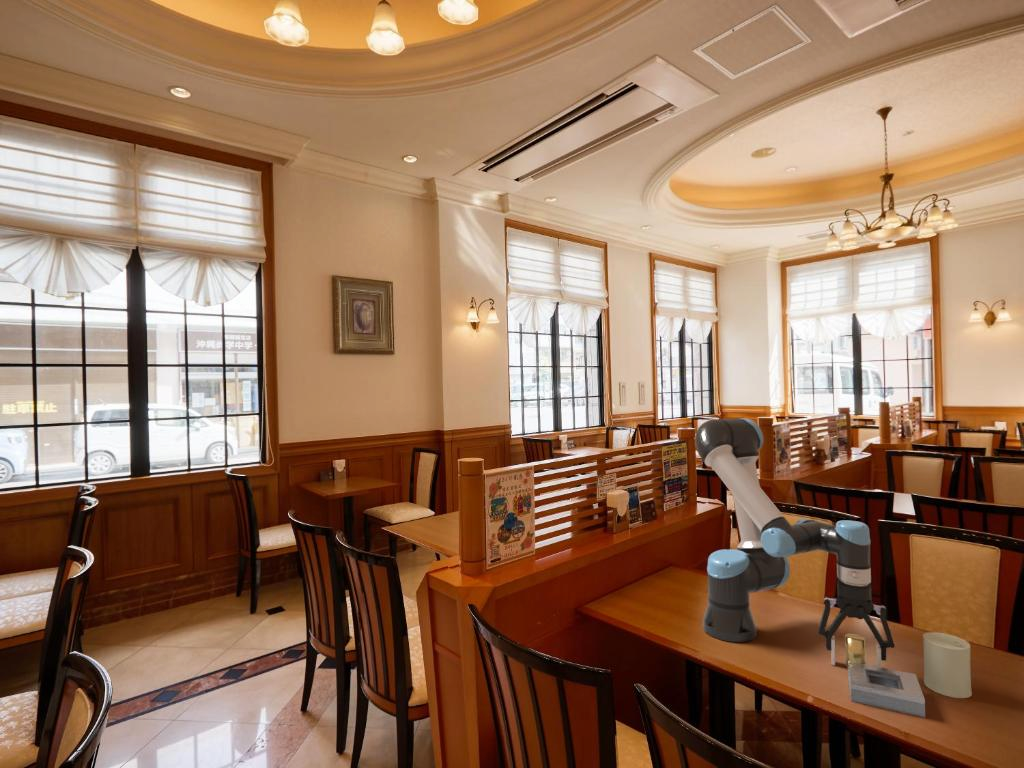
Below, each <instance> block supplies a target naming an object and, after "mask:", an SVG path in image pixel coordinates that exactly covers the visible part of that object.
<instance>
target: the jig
mask: <svg viewBox="0 0 1024 768" xmlns="http://www.w3.org/2000/svg"><path fill="white" fill-rule="evenodd" d="M847 678H848V686H849V693H850V695H849V696H850V701H851V702H855V703H858V704H863V705H867V706H872V707H877V708H880V709H881V708H882V709H885V710H890V711H893V712H894V711H895V712H899V713H902V714H907V715H912V716H916V717H920V718H925V719H926V700H925V699H926V698H925V696H924V693H923V691H922V688H921V685H920V683H919V680H918V677H917V674H915V673H911V672H906V671H900V670H895V669H890V668H886V667H882V666H881V667H877V665H876V666H875V665H870V664H866V663H865V664H860V663H855V662H850V661H848V668H847Z"/></svg>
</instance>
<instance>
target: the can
mask: <svg viewBox="0 0 1024 768" xmlns="http://www.w3.org/2000/svg"><path fill="white" fill-rule="evenodd" d="M922 638H923V672H924V673H923V684H924V685H925V687H926V688H928V689H930V690H931V691H933V692H935V693H937V694H939V695H942V696H945V697H949V698H954V699H968V698H970V697H972V694H973V691H972V683H971V682H972V680H971V675H972V674H971V644H970V643H969V642H968V641H967V640H965V639H963V638H961V637H958V636H956V635H952V634H949V633H943V632H937V631H935V632H934V631H933V632H932V631H931V632H924V633H923V635H922Z"/></svg>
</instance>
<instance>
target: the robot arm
mask: <svg viewBox="0 0 1024 768" xmlns="http://www.w3.org/2000/svg"><path fill="white" fill-rule="evenodd" d="M697 428H698V429H697V430H696V432H695V436H694V447H695V449H696V451H697V454H698V455H699V457H700V459H701V460H702V462H703V463H704V464H705V465H706V467H710V468H711V469H712V470H713V471H714V472H715V473H716V475H718V478H720V480H721V481H722V482H723V484H724V485H725V486H726V487H727V489H728V490H729V492H731V493H730V494H732V498H733V504H734V508H735V515H736V520H737V524H738V525H737V526H738V531H739V536H740V542H739V543H738V545H737V549H735V548H733V549H731V548H729V549H726V548H725V549H718V550H716V551H714V552H712V553H711V554H710V555H709V556H708V558H707V566H706V571H707V589H708V590H707V591H708V592H707V595H708V597H707V598H708V601H707V605H706V609H705V612H704V615H703V619H702V629H703V631H704V632H705V633H706V632H707V633H708V636H710V637H713V638H715V639H718V640H722V641H726V642H732V643H744V642H749V641H753V640H754V639H755V638H757V625H756V622H755V620H754V616H753V613H752V611H751V608H750V594H755V593H758V592H759V593H760V592H763V591H771V590H775V589H777V588H780V587H782V586H783V585H785V584H786V583H787V581H788V580H789V578H790V574H791V568H790V562H789V559H788V558H787V557H791V556H794V555H798V554H805V553H810V552H815V551H816V552H817V551H821V552H826V553H829V554H832V555H836V575H837V576H836V577H837V579H838V580H837V581H836V582H837V589H836V590H837V596H836V598H830V597H828V596H825V597H823V598H824V599H823V601H824V608H823V611H822V615H821V618H820V622H819V625H818V629H817V630H818V635H820V636H823V637H825V642H826V644H825V647H826V650H827V651H830V654H831V656H830V657H831V660H830V661H831V665H833V666H836V651H835V650H836V645H835V643H836V642H835V636H834V635H835V633H836V632H837V630H838V629H839V627H840V626H841V625H842V623H843V621H845V619H846V617H847V618H851V619H852V618H853V619H854V618H855V619H857V620H864V622H865V623H866V625H867V626H868V628H869V629H870V632H871V633H872V635H873V637H874V638H875V639H876V642H877V643H876V644H875V646H876V648H875V649H876V667H881V668H882V661H885V662H886V661H887V649H888V648H891V649H893V648H895V647H896V646H895V642H894V639H893V636H892V633H891V629H890V627H889V623H888V620H887V617H886V616H887V609H886V606H885V604H879V605H878V604H874V603H873V601H872V586H871V583H872V575H871V573H872V572H871V571H872V570H871V569H872V568H871V542H872V541H871V538H870V537H871V536H870V528H869V526H868V525H867V524H866V523H865V522H861V521H858V520H857V521H856V520H845V519H843V520H839V521H837V522H836V523H835V525H834V524H830V523H826V522H822V521H818V520H815V519H808V518H800V519H798V520H797V522H795V523H794V524H791V523H790V521H788V519H787V518H786V517H785V515H783V513H782V511H780V510H779V508H778V507H777V506H776V505H775V504H774V502H773V501H772V500H771V499H770V498H769V496H768V495H767V494H766V492H765V491H764V490H763V489H762V487H761V485H760V480H759V475H758V470H757V466H756V462H757V461H758V459H759V458H760V455H759V451H760V450H761V448H763V446H762V445H763V444H764V435H763V432H762V429H761V428H760V426H759V425H758V424H757V423H756V422H754V421H753V420H752V419H749V418H746V417H745V418H742V417H734V418H732V417H731V418H717V419H715V418H714V419H713V418H712V419H709V420H706V421H704V422H703V423H701V425H699V426H698V427H697ZM835 605H837V607H838V608H839V609H840V610H839V611H838V613H837V615H836V616H835V618H834V620H832V622H831V624H830V625H829V627H828V629H827V630H826V627H827V623H828V619H829V617H830V613H831V608H834V606H835ZM873 611H875V612H876V614H877V615H879V618H880V622H881V625H882V627H883V630H884V634H885V636H886V640H884V638H883V636H882V635H881V633H880V631H879V630H878V627H877V626H876V625H875V623H874V622H873V620H872V618H871V617H870V614H871V613H872V612H873ZM707 633H706V634H707Z"/></svg>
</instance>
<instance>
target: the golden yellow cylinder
mask: <svg viewBox="0 0 1024 768" xmlns="http://www.w3.org/2000/svg"><path fill="white" fill-rule="evenodd" d="M844 641H845V642H844V645H845V668H847V669H848V661H850V662H855V663H860V664H865V665H866V638H865V637H864V636H862V635H860V634H856V633H846V634H845V635H844Z"/></svg>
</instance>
